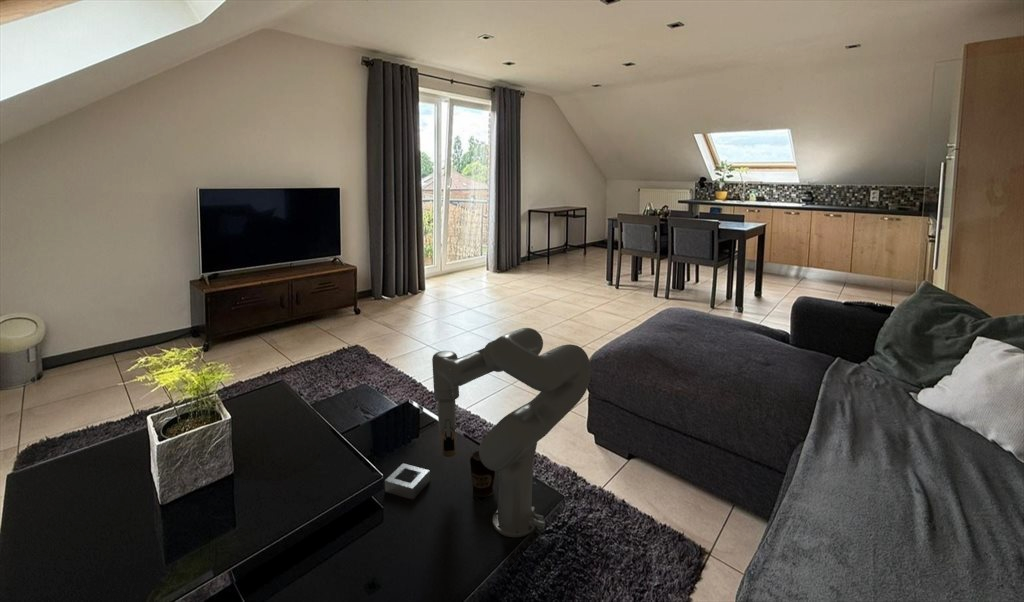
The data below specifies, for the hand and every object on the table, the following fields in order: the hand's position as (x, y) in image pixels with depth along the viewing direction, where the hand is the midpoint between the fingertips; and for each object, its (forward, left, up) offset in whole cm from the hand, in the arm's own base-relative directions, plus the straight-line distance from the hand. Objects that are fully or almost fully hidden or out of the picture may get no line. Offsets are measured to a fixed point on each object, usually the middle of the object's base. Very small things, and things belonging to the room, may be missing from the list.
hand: (449, 445), depth 153 cm
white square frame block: (+12, +6, -14) cm, 19 cm away
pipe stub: (0, 0, -3) cm, 3 cm away
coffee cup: (-11, -1, -14) cm, 18 cm away
